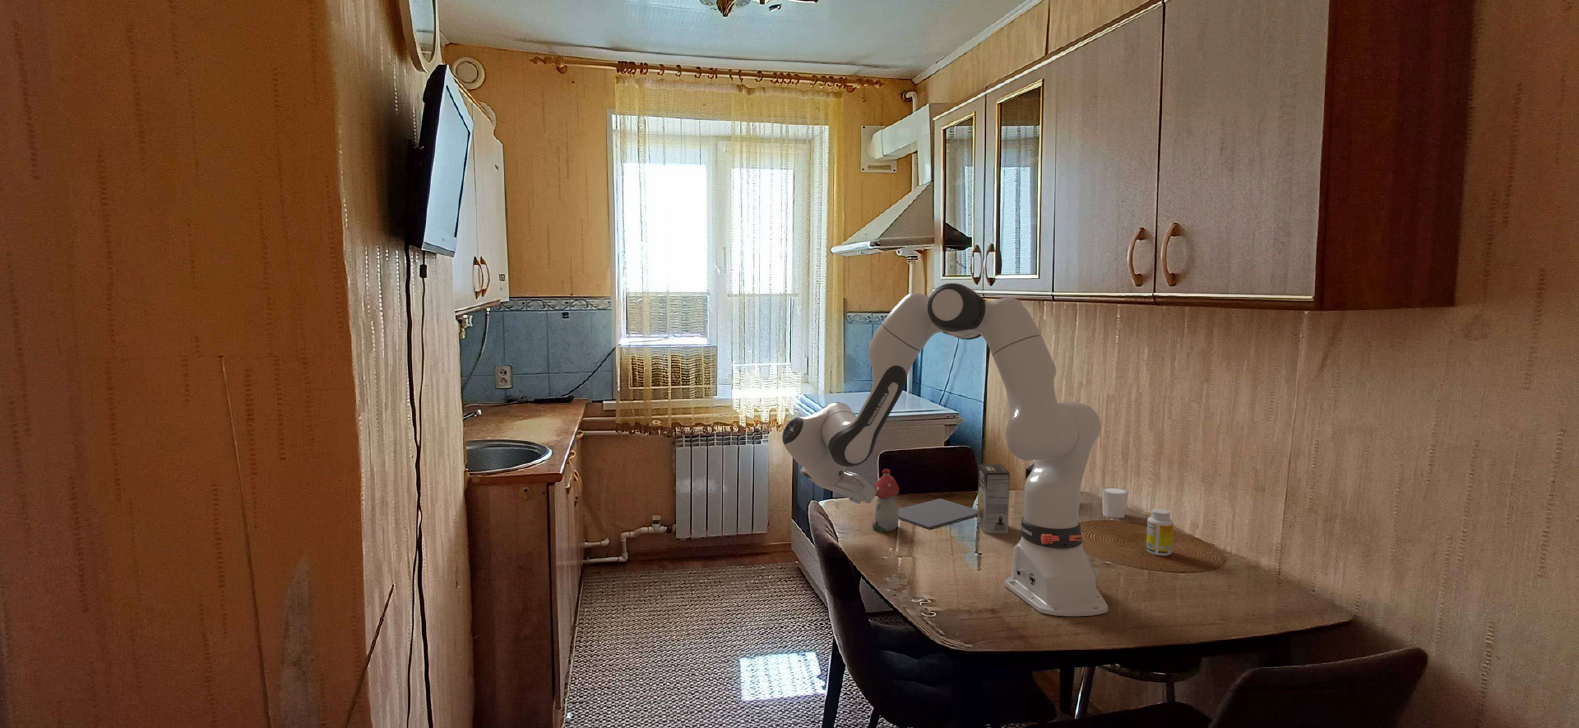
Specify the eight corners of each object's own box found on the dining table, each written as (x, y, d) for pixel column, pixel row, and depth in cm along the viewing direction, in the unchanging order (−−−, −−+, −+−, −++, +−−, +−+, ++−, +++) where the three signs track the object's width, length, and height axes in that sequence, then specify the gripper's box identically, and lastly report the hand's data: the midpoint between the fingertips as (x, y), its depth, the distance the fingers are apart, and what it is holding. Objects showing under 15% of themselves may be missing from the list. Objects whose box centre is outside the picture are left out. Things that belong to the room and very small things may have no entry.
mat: (928, 529, 200) (928, 527, 200) (885, 514, 213) (886, 512, 213) (983, 513, 214) (983, 511, 214) (940, 500, 226) (940, 498, 226)
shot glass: (1128, 513, 213) (1130, 489, 213) (1125, 520, 208) (1126, 495, 207) (1102, 510, 217) (1103, 485, 216) (1098, 516, 211) (1099, 491, 210)
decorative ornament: (880, 520, 208) (880, 466, 206) (903, 524, 205) (904, 469, 203) (867, 530, 199) (868, 474, 198) (891, 534, 196) (892, 477, 195)
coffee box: (976, 522, 206) (977, 463, 204) (1000, 522, 206) (1001, 463, 204) (984, 533, 197) (985, 472, 195) (1009, 533, 197) (1011, 472, 195)
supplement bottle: (1174, 552, 184) (1177, 510, 182) (1167, 558, 179) (1170, 515, 178) (1150, 546, 187) (1152, 506, 186) (1142, 552, 183) (1144, 511, 182)
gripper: (863, 466, 181) (892, 499, 188) (809, 451, 197) (838, 482, 204) (849, 488, 179) (879, 520, 186) (795, 470, 195) (825, 501, 202)
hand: (857, 500), depth 195 cm, fingers closed
